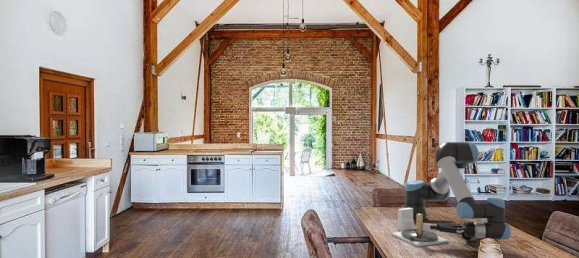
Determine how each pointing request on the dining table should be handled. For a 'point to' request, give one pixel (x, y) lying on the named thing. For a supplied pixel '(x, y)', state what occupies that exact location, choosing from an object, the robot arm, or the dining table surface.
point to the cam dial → (419, 232)
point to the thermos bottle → (474, 236)
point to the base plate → (419, 243)
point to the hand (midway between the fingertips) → (423, 226)
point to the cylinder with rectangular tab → (405, 219)
